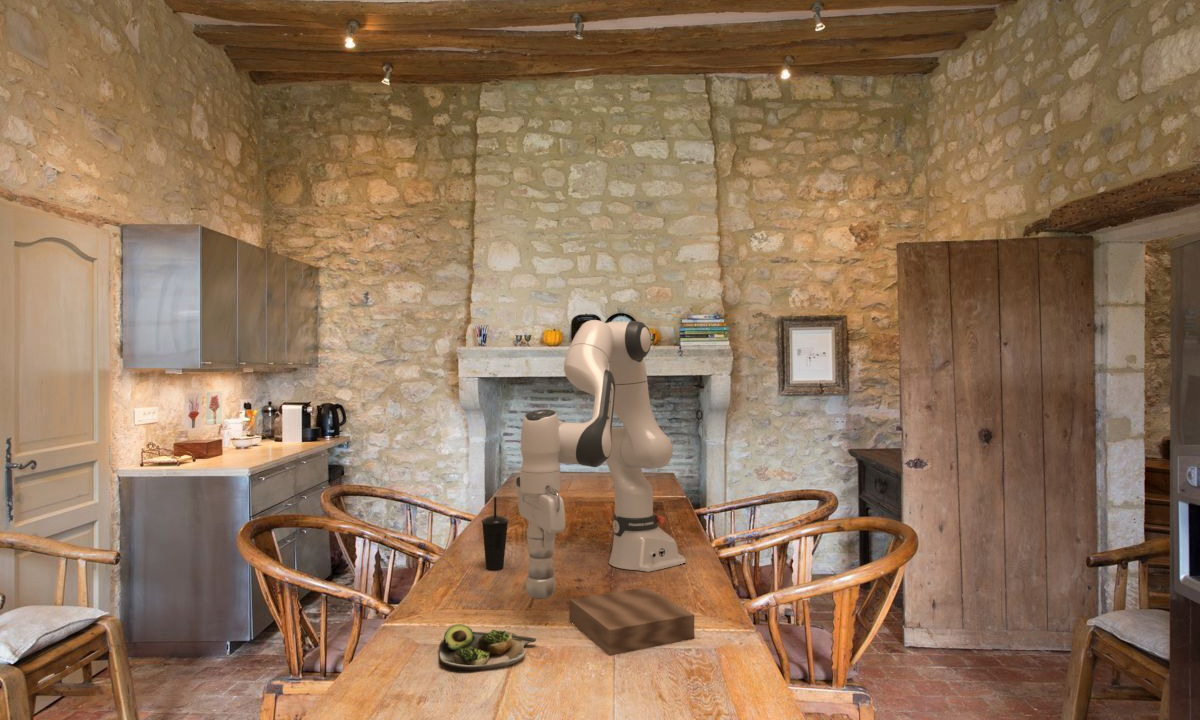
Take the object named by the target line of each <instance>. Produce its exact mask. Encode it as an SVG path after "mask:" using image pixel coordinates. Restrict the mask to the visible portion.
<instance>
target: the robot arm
mask: <svg viewBox="0 0 1200 720" xmlns="http://www.w3.org/2000/svg"><path fill="white" fill-rule="evenodd" d="M651 337H652V335H651V332H650V330H649V327H648V326H647V325H646V324H645V323H644V322H641V321H636V320H630V321H624V320H623V321H622V320H620V321H609V322H604V321H602V320H597V319H590V320H587V321H586V322H584V323H583V324H582V325H581V326H580V328H578V329H577V331H576V332H575V334H574V337H573V339H572V341H571V343H570V346H569V348H568V350H567V353H566V355H565V358H564V363H563V371H564V374H565V377H566V379H567V380H568V381H569V382H570V383H571V385H573V387H575V388H576V389H578V390H579V391H582V392H585V393H588V394H590V395H591V396H594V401H593V410H592V418H591V419H590V420H588V421H587V422H567V421H566V422H565V421H562V420H560V419H559V418H558V413H557V412H556V411H555V410H553V409H544V408H543V409H538V410H533V411H532V410H531V411H529V412H528V413H526V414H525V415H524V416H523V420H522V426H521V431H520V432H521V434H520V453H521V456H522V463H521V466H520V475H517V476H516V477H515V486H516V487H517V493H516V494H517V508H518V513H519V515H520V517H522V518H524V519H525V520H527V521H528V523H527V524H528V526H529V525H530V523H531V522H532V521H534V522H535V524H536V525H537V526H538V527H540V528H542V529H543V531H544V540H542V544H543V545H542V547H543V548H545V549H551V548H552V541H553V538H554V535H555V533H556V534H559V533H563V532H565V531H566V514H565V504H564V499H563V498H562V496H561V495H559V492H560V491H561V465H560V464H565V465H566V464H567V465H581V466H584V467H591V468H599V467H600V466H601V465H602V464H604V463H606V465H607V467H608V469H609V473H610V475H611V478H612V483H613V488H614V489H613V490H614V513H613V519H612V522H613V525H612V528H613V529H612V530H613V542H612V549H611V554H610V556H609V560H608V563H609V565H611V566H612V567H614V568H618V569H623V570H630V571H632V570H633V571H640V572H641V571H642V572H647V573H649V572H655V571H657V570H662V569H666V568H668V569H669V568H673V567H675V566H680V564H681V565H684V564H683V563H685V564H686V563H687V562H686V561H687V560H686V558H685V556H683V555H681V554H680V553H679V552H678V545H677V542H676V540H675V538H673V537H672V536H671V535H670V534H668V533H667V532H665V530H663V529H662V528H661V527H660V526H659V524H661V525H664V524H665V522H666V518H665V517H664V516H661V515H656V514H654V509H653V508H654V489H653V486H652V484H651V483H650V482H649V481H648V480H647V479H646V477H645V475H644V473H643V469H645V470H654V469H663V468H665V467H666V466H667V465H668V464H669V463H670V462H671V459H672V456H673V453H674V452H673V449H674V448H673V443H672V441H671V438H669V437H668V435H666V434H665V432H663V430H662V429H661V427H660V426H659V424H658V422H657V420H656V418H655V416H654V413H653V410H652V407H651V402H650V393H649V385H648V375H647V367H646V362H645V359H644V358H645V357H647V355H648V354H649V352H650V350H651V346H652V338H651ZM614 415H616V417H618V418H619V420H620V421H621V423H622V425H623V427H621V426H619V427H614V428H613V421H614V420H613V419H614ZM533 509H534V516H535V518H534V517H532V515H533Z"/></svg>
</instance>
